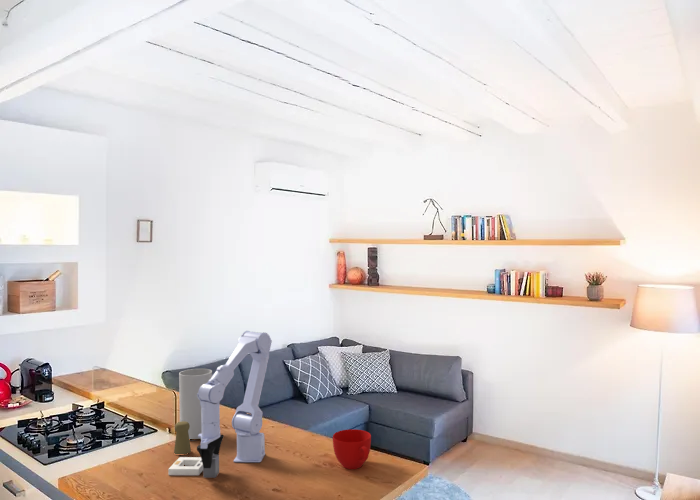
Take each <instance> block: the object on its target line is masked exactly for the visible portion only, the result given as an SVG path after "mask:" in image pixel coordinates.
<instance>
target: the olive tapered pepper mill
mask: <svg viewBox="0 0 700 500" xmlns="http://www.w3.org/2000/svg"><path fill="white" fill-rule="evenodd" d="M189 428H190V425H189V423H188V422H186V421H181V422H180V421H178V422H176V423H175V424H174V432H175V433H176V434H175V442H174V447H173V448H174V449H173V454H174V453H175V454H187V453H189V454H191V453H192V447H191V440H189V433H188V430H189ZM190 452H191V453H190ZM187 455H188V454H187Z"/></svg>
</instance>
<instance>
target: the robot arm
mask: <svg viewBox="0 0 700 500" xmlns="http://www.w3.org/2000/svg"><path fill="white" fill-rule="evenodd" d="M272 342H273V341H272V339H271V337H270V335H269V334H268V332H258V331H257V332H256V331H250V330H245V331H243V332H242V333H241V335H240V336H239V338H238V340H237V343H238V344H237V346H236V347H235V348H234V350H233V352H232V353H231V355H230V357H228V359H227V361H226V362H225V364H222V365H219V366H217V368H216V370H215V372H214V373H213V374H212V377H211V378H210V380H209V381H208V382H207V383H206V384H203V385H202V386H201V387H200V389H199V391H198V393H197V397H198V399H199V400H200V405H201V419H202V434H199V435H198V438H201V439H200V444H198V445H197V446H196V450H197V453H198V454H199V455H200V456H199V457H201V459H202V463H203V467H204V468H211V464H212V456H213V453H214V454H219V455H220V450H221V446H222V443H223V440H224V438H225V435H224V434H221V427H220V425H221V419H220V409H221V408H220V402H221V401H222V400H223V399H224V393H225V391H226V387H227V386H228V384H229V383H230V381H231V380H232V379H233V377H234V376H235V371H234V370H235V369H236V368H237V367H238V366H239V364H240V363H241V362H242V361H243V360H244V359H245V358H246V356H247V355H248V354H249V355H250V356H251V358H252V363H251V367H250V372H249V375H248V380H247V384H246V388H245V393H244V397H243V400H242V401H243V402H242V403H241V404H240V405H238V406H237V407H236V409H235V413H234V415H233V417H232V419H231V426H232V428H233V430H235V431H234V432H235V433H236V456H235V458H234V459H233V463H261V462H262V461H263V459H264V457H265V455H266V450H265V447H266V446H265V445H266V444H265V441H266V440H265V433H264V432H260V431H261V429H262V427H263V414H264V413H263V411H262V409H261V408H260V407H259V403H260V400H261V395H262V390H263V386H264V382H265V376H266V373H267V368H268V362H269V359H270V350H271V347H272Z"/></svg>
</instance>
